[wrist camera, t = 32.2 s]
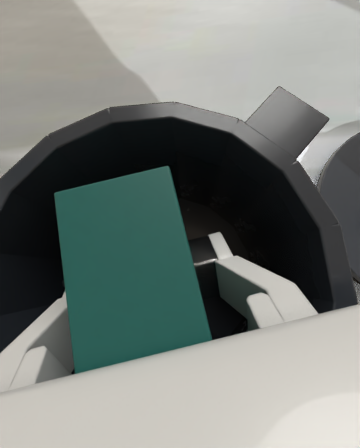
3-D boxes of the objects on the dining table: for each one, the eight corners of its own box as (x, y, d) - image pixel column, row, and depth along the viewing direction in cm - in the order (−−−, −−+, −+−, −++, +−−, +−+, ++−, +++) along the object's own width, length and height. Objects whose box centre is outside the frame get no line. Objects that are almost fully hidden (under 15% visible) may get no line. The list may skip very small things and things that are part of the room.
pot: (25, 310, 16) (-199, 360, 7) (187, 140, 18) (185, 6, 9) (149, 451, 14) (68, 806, 5) (316, 238, 16) (483, 192, 7)
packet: (181, 230, 14) (168, 164, 6) (201, 311, 13) (223, 383, 5) (136, 241, 14) (52, 192, 6) (152, 323, 13) (78, 419, 4)
